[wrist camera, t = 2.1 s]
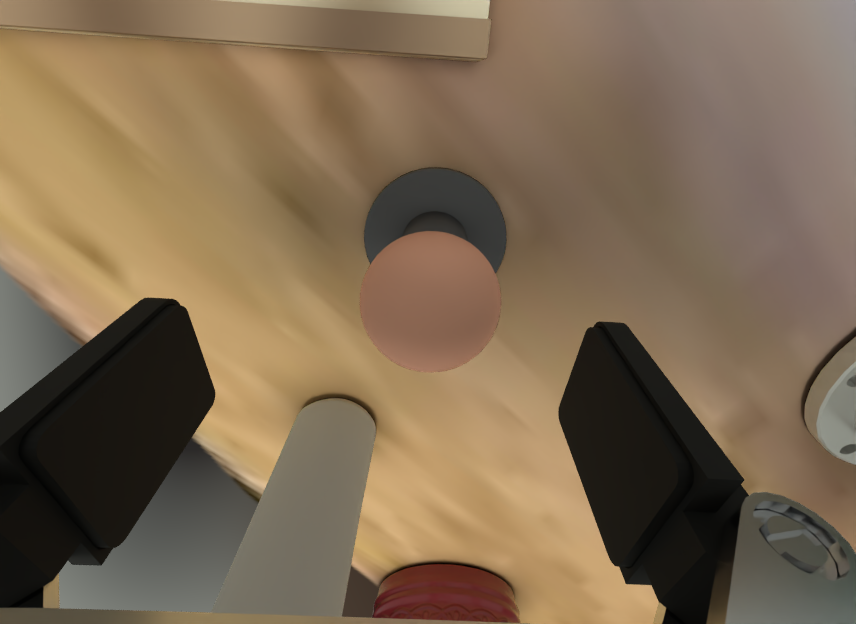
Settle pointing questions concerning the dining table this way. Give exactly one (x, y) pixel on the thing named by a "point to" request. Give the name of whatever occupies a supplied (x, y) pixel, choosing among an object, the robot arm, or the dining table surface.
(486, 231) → the tee
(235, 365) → the dining table surface
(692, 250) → the dining table surface
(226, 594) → the beverage can
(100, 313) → the dining table surface
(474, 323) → the ball
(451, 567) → the canister
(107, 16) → the lane
